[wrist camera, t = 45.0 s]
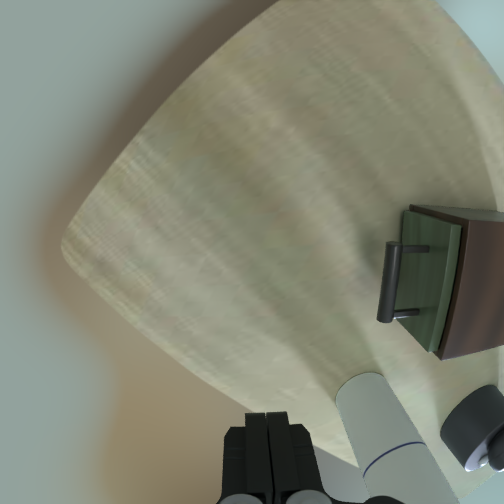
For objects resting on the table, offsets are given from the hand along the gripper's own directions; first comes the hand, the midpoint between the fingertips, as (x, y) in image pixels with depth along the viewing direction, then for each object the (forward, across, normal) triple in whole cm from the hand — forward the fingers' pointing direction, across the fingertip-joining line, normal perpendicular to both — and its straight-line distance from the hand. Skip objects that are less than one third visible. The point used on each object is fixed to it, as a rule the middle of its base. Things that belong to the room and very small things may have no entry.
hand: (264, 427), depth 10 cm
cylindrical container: (+21, -14, +18) cm, 31 cm away
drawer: (+20, -20, 0) cm, 28 cm away
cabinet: (+21, -24, 0) cm, 32 cm away
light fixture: (+21, -39, +29) cm, 53 cm away
